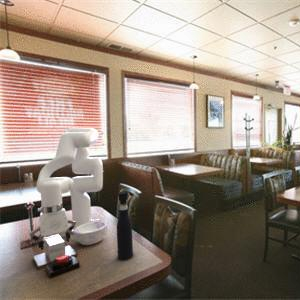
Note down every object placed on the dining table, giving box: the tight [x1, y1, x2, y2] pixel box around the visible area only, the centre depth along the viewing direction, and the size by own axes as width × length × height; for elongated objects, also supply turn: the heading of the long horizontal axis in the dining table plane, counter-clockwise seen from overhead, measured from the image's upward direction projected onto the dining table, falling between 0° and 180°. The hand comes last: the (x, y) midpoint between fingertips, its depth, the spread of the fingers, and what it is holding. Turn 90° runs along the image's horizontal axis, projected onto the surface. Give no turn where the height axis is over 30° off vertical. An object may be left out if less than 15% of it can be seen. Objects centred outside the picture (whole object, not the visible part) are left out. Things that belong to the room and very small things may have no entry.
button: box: [56, 254, 68, 263], centre depth 97 cm, size 4×4×2 cm
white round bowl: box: [73, 221, 108, 246], centre depth 123 cm, size 15×15×8 cm
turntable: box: [32, 245, 78, 270], centre depth 106 cm, size 14×12×2 cm
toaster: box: [43, 233, 66, 261], centre depth 106 cm, size 11×6×7 cm, turn 47°
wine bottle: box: [116, 191, 134, 261], centre depth 106 cm, size 6×6×30 cm
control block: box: [45, 256, 80, 279], centre depth 98 cm, size 10×8×4 cm
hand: (55, 244), depth 107 cm, fingers open, 9 cm apart
